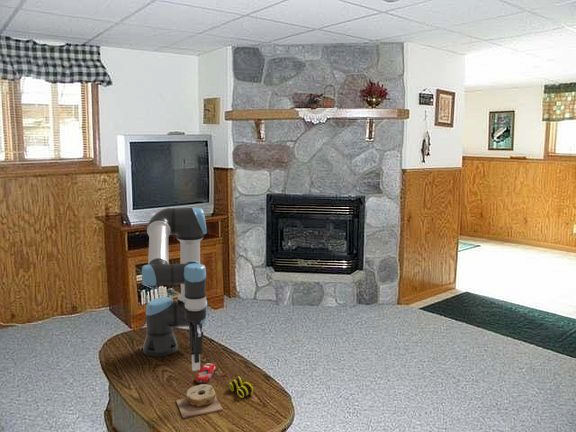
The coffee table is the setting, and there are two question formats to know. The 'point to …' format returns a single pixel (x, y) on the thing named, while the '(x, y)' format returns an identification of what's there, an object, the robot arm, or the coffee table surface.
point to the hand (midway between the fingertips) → (196, 369)
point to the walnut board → (197, 408)
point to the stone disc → (200, 395)
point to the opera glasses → (241, 387)
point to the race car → (206, 373)
